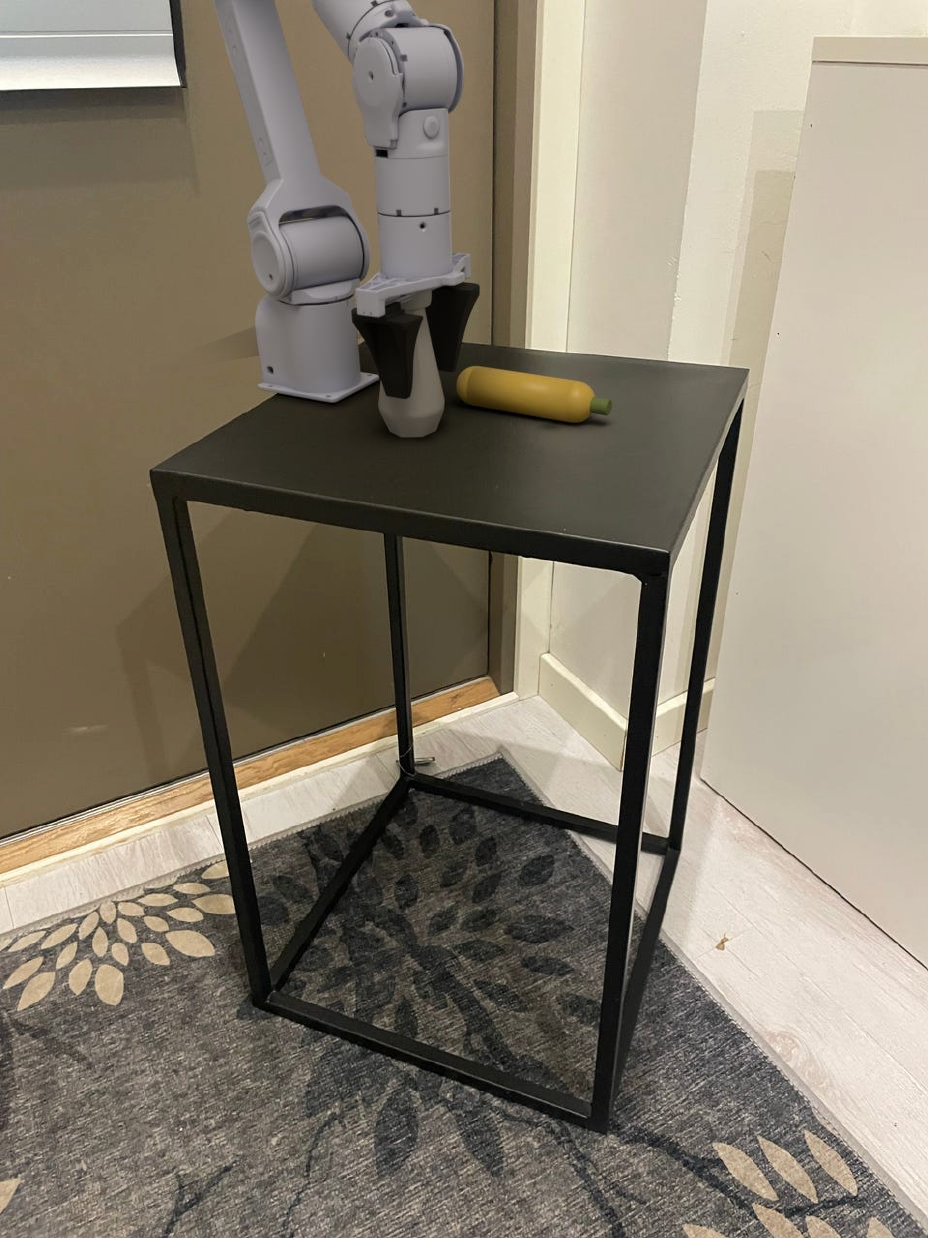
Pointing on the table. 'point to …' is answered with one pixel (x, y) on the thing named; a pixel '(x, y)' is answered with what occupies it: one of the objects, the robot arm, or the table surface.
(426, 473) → the table surface
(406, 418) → the salt shaker
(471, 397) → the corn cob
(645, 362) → the table surface
